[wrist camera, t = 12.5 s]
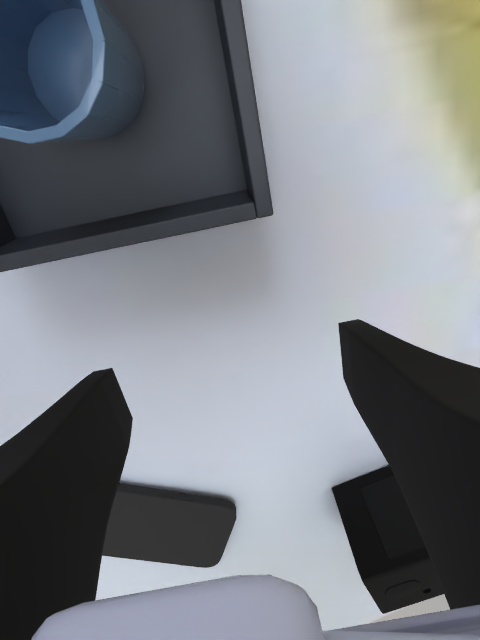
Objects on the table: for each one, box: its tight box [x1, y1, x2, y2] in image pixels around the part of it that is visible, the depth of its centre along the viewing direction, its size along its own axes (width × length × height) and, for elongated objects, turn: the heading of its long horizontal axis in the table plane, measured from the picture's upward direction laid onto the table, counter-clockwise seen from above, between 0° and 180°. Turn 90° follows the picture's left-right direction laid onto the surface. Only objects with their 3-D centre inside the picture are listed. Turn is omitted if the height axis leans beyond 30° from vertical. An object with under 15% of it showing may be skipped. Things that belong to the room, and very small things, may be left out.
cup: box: [0, 0, 145, 144], centre depth 14 cm, size 5×5×7 cm
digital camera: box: [332, 466, 444, 614], centre depth 27 cm, size 10×5×7 cm, turn 117°
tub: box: [0, 0, 273, 272], centre depth 15 cm, size 13×13×4 cm
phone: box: [102, 484, 236, 568], centre depth 29 cm, size 7×1×15 cm
